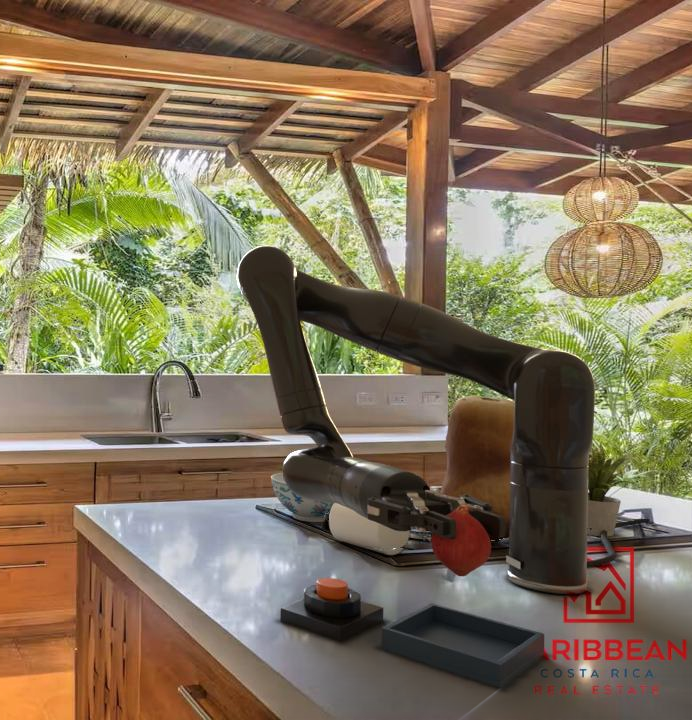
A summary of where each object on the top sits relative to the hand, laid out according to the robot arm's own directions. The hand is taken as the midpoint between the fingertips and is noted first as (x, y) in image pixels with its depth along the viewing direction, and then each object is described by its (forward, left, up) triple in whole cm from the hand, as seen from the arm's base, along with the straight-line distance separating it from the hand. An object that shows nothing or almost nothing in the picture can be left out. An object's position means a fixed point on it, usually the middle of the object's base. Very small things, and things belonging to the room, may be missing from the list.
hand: (477, 528), depth 79 cm
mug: (-34, -29, -15) cm, 47 cm away
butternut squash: (-51, -19, -15) cm, 56 cm away
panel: (+2, -16, -14) cm, 22 cm away
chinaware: (-43, -47, -15) cm, 65 cm away
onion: (-1, -2, -6) cm, 7 cm away
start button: (+2, -16, -11) cm, 20 cm away
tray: (-1, -2, -14) cm, 15 cm away
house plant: (-72, -7, -15) cm, 74 cm away
